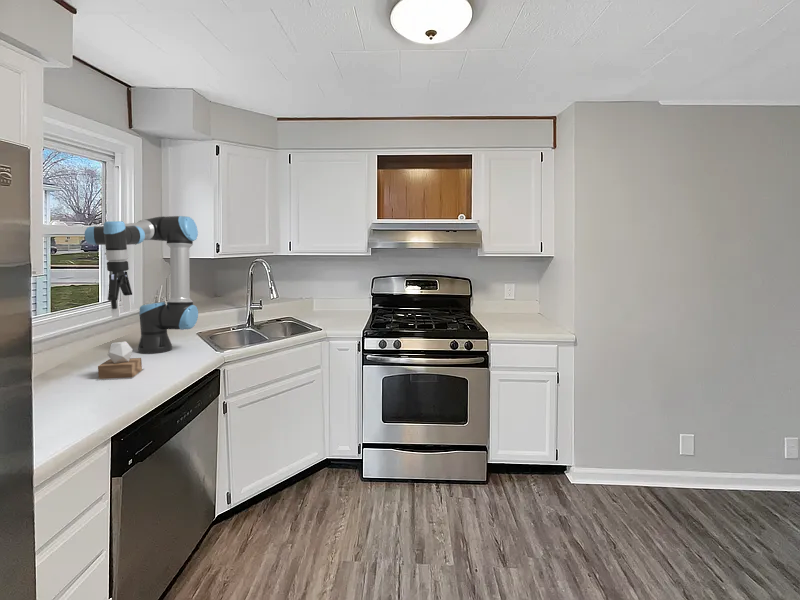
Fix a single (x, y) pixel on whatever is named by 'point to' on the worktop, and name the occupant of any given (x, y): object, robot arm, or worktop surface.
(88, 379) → the worktop surface
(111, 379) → the base plate
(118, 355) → the die
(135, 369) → the walnut brick
